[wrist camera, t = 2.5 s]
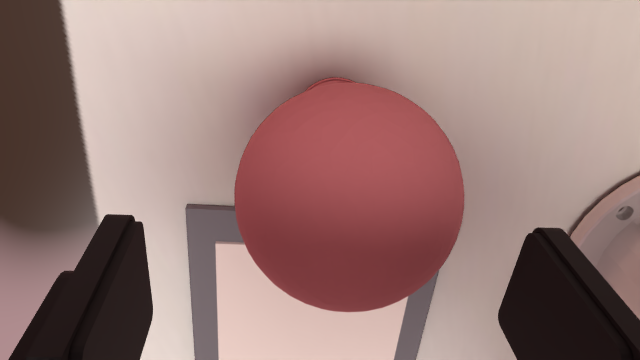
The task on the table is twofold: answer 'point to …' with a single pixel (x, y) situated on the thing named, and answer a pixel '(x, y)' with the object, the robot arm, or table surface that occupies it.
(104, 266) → the robot arm
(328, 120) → the light bulb
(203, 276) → the gray rectangular picture frame
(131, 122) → the table surface
